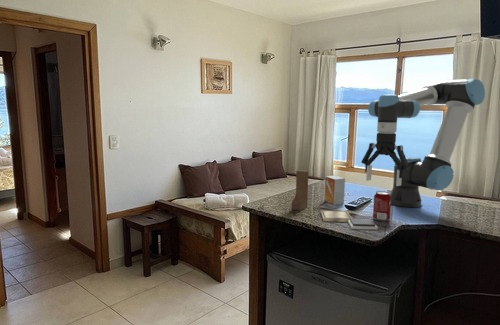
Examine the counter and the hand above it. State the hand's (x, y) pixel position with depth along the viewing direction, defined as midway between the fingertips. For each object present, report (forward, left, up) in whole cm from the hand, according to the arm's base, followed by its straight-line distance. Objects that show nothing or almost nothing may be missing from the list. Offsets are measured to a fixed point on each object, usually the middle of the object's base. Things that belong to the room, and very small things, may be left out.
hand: (383, 182), depth 151 cm
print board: (+19, -2, -16) cm, 25 cm away
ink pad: (+10, +9, -16) cm, 21 cm away
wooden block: (+34, -14, -16) cm, 40 cm away
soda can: (0, 0, -16) cm, 16 cm away
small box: (+16, -26, -16) cm, 35 cm away
